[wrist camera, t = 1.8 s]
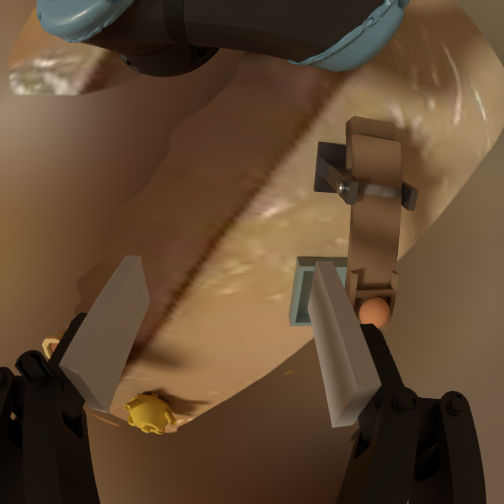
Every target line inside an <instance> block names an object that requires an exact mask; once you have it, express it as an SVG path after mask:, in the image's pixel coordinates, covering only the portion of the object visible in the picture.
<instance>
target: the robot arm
mask: <svg viewBox="0 0 504 504" xmlns="http://www.w3.org/2000/svg"><path fill="white" fill-rule="evenodd" d="M408 4H409V0H37V9H36V10H37V17H38V20H39V21H40V23H41V27H42V28H43V29H44V30H45V31H46V32H47V33H49V34H51V35H54V36H57V37H60V38H62V39H63V40H66V41H67V42H73V43H78V42H80V43H85V44H89V45H93V46H97V47H101V48H105V49H109V50H112V51H116V52H118V53H119V55H120V57H121V58H122V60H123V61H124V62H125V63H126V64H127V65H128V66H129V67H130V68H132V69H133V70H135V71H137V72H139V73H142V74H146V75H150V76H154V77H173V76H179V75H182V74H185V73H188V72H191V71H193V70H195V69H197V68H198V67H200V66H202V65H203V64H204V63H206V62H207V61H208V60H209V59H211V58H212V56H214V55H215V54H216V52H217V51H218V50H219V49H220V48H227V49H234V50H241V51H247V52H253V53H259V54H264V55H269V56H274V57H278V58H283V59H287V60H288V61H289V62H290V63H292V64H296V65H310V66H314V67H318V68H322V69H326V70H329V71H335V72H340V71H348V70H353V69H356V68H358V67H360V66H362V65H364V64H366V63H367V62H369V61H370V60H371V59H373V58H374V57H375V56H376V55H377V54H378V53H379V52H380V51H381V50H382V49H383V48H384V47H385V46H386V45H387V44H388V42H389V41H390V40H391V39H392V37H393V36H394V35H395V33H396V32H397V30H398V28H399V27H400V25H401V23H402V21H403V19H404V16H405V13H404V11H403V9H404V8H405V7H406V6H407V5H408ZM149 304H150V298H149V294H148V290H147V286H146V281H145V277H144V272H143V267H142V262H141V257H140V256H125V258H124V259H123V260H122V262H121V263H120V265H119V266H118V268H117V269H116V271H115V272H114V273H113V275H112V276H111V278H110V279H109V281H108V282H107V284H106V285H105V287H104V289H103V290H102V292H101V293H100V295H99V296H98V298H97V299H96V301H95V303H94V304H93V306H92V307H91V309H90V311H89V312H88V313H80V314H79V315H78V316H76V317H75V318H74V319H73V320H72V321H71V323H70V325H69V326H68V328H67V331H65V333H64V334H63V336H62V339H60V341H59V343H58V345H57V346H56V348H55V350H54V352H53V353H52V355H51V357H50V359H49V361H48V362H47V361H46V359H45V358H44V356H43V355H42V353H41V352H39V351H37V350H30V351H27V352H25V353H23V354H22V355H21V356H20V357H19V358H18V360H17V362H16V364H15V367H16V368H17V370H18V371H19V372H20V373H21V375H22V376H15V375H14V374H13V373H12V371H11V370H10V369H9V368H7V367H0V504H100V500H99V496H98V491H97V487H96V482H95V477H94V472H93V466H92V460H91V454H90V447H89V438H88V429H87V418H86V413H85V410H84V409H83V405H84V403H85V401H86V403H87V404H88V405H89V406H90V407H91V409H95V410H98V411H102V412H106V413H108V412H109V409H110V406H111V403H112V400H113V397H114V394H115V391H116V388H117V385H118V382H119V380H120V377H121V374H122V371H123V369H124V366H125V363H126V361H127V358H128V355H129V353H130V350H131V348H132V345H133V342H134V340H135V337H136V335H137V332H138V330H139V328H140V325H141V323H142V320H143V318H144V315H145V313H146V311H147V308H148V306H149ZM308 311H309V315H310V320H311V324H312V328H313V333H314V337H315V342H316V346H317V351H318V356H319V360H320V365H321V370H322V375H323V380H324V385H325V390H326V395H327V401H328V406H329V411H330V417H331V422H332V427H341V426H348V425H353V424H354V422H355V421H356V420H357V418H358V421H359V425H360V427H359V429H358V430H357V431H356V432H355V433H354V434H353V436H352V437H351V439H350V441H353V440H354V439H355V441H354V445H353V448H352V452H351V456H350V459H349V462H348V466H347V469H346V473H345V476H344V479H343V482H342V485H341V488H340V491H339V494H338V496H337V499H336V502H335V504H407V501H408V500H409V504H486V491H485V481H484V473H483V466H482V460H481V454H480V449H479V443H478V439H477V434H476V430H475V425H474V421H473V418H472V414H471V410H470V406H469V403H468V401H467V399H466V398H465V397H464V396H463V395H462V394H461V393H459V392H457V391H450V392H447V393H445V394H444V395H443V396H442V398H441V399H430V398H421V397H418V396H417V394H416V393H415V392H413V391H412V390H411V389H409V388H406V387H405V386H404V384H403V382H402V380H401V377H400V375H399V372H398V370H397V367H396V365H395V362H394V360H393V357H392V355H391V353H390V350H389V348H388V346H387V345H386V341H385V339H384V337H383V334H382V333H381V331H380V330H379V329H378V328H377V327H376V326H375V325H374V324H373V323H370V324H359V322H358V320H357V317H356V315H355V312H354V310H353V308H352V305H351V303H350V300H349V298H348V296H347V293H346V291H345V289H344V286H343V284H342V282H341V279H340V277H339V275H338V272H337V270H336V268H335V266H334V264H333V261H316V265H315V271H314V277H313V282H312V288H311V293H310V298H309V303H308ZM12 412H13V413H14V414H15V415H16V417H15V419H14V420H13V419H11V418H10V416H11V413H12Z"/></svg>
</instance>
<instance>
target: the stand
mask: <svg viewBox="0 0 504 504" xmlns="http://www.w3.org/2000/svg"><path fill="white" fill-rule="evenodd" d="M358 185H359V182H357V181H356V180H355V179H354V178H352V170H347V169H346V145H341V144H332V143H323V142H318V150H317V161H316V172H315V181H314V191H315V192H327V193H338V194H339V196H340V197H341V198H342V199H343V200H344V201H345V202H346V203H347V204H350V205H355V203H356V197H357V191H358ZM417 194H418V190H417V189H415V188H413V187H412V186H410V185H409V184H407V183H406V182H404V181H402V199H401V205H402V206H403V207H404V208H406V209H407V210H412V211H414V207H415V203H416V199H417Z"/></svg>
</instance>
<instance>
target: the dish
mask: <svg viewBox="0 0 504 504" xmlns="http://www.w3.org/2000/svg"><path fill="white" fill-rule="evenodd" d="M347 260H348V258H327V257H297V261H296V269H295V276H294V283H293V290H292V297H291V304H290V311H289V321H290V326H312V324H311V320H310V315H309V311H308V303H309V298H310V293H311V288H312V282H313V277H314V271H315V265H316V261H333V264H334V266H335V268H336V270H337V272H338V275H339V277H340V279H341V282H342V284H343V286H344V289H345V280H346V271H347Z"/></svg>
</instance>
